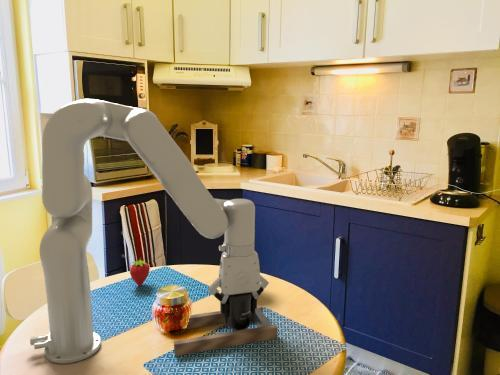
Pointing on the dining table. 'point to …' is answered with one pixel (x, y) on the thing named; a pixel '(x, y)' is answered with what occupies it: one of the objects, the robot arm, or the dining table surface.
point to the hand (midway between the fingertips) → (238, 312)
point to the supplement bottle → (239, 311)
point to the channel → (224, 339)
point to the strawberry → (139, 272)
